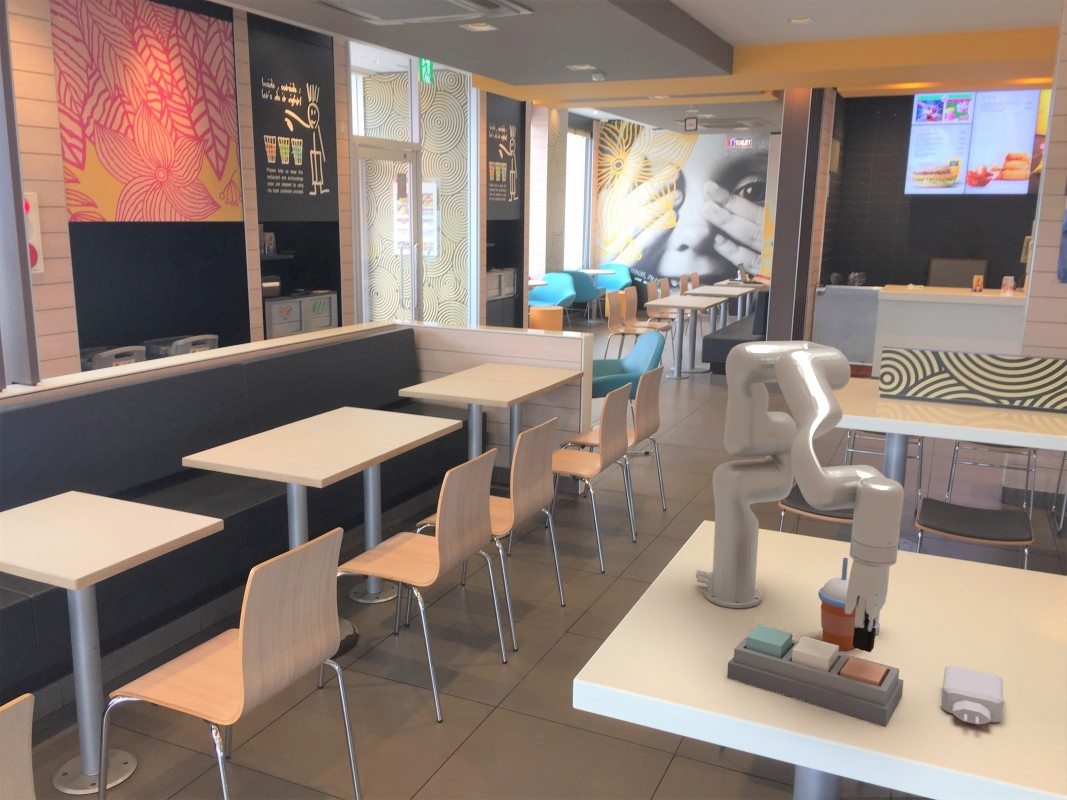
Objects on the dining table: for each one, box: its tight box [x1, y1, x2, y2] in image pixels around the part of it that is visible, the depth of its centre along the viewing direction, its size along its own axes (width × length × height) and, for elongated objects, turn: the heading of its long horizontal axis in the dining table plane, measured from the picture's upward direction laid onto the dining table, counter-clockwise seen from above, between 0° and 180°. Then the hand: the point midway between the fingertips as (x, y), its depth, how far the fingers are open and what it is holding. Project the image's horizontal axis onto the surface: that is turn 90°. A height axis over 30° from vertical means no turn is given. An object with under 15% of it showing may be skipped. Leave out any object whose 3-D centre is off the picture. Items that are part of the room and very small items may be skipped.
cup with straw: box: [818, 557, 856, 651], centre depth 174 cm, size 9×9×18 cm
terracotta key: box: [840, 657, 888, 687], centre depth 154 cm, size 6×6×3 cm
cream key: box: [792, 636, 840, 672], centre depth 158 cm, size 6×6×3 cm
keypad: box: [726, 636, 904, 727], centre depth 159 cm, size 28×12×6 cm, turn 55°
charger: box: [940, 665, 1004, 726], centre depth 151 cm, size 5×9×15 cm
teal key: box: [746, 624, 794, 659], centre depth 163 cm, size 6×6×3 cm
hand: (862, 648), depth 154 cm, fingers closed
